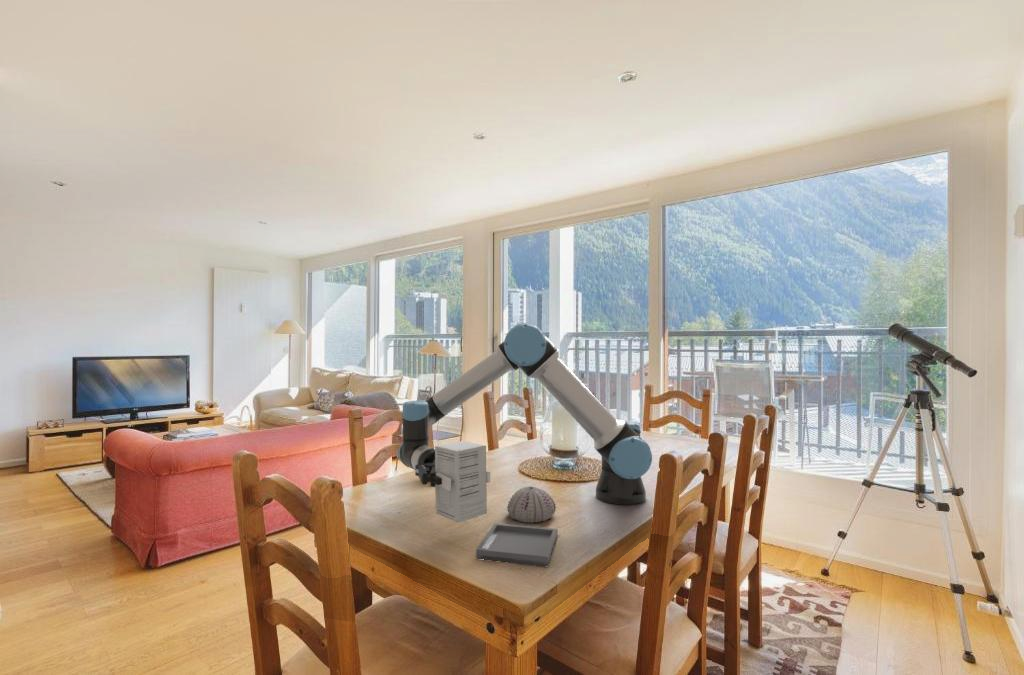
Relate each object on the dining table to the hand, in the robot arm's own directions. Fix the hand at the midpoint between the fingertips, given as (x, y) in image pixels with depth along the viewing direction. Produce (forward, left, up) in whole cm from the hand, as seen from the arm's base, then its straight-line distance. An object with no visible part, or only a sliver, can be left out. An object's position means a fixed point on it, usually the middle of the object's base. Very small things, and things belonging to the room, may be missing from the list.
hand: (469, 480), depth 118 cm
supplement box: (+3, -3, -9) cm, 10 cm away
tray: (-12, 0, -15) cm, 19 cm away
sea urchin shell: (-11, -21, -15) cm, 28 cm away
